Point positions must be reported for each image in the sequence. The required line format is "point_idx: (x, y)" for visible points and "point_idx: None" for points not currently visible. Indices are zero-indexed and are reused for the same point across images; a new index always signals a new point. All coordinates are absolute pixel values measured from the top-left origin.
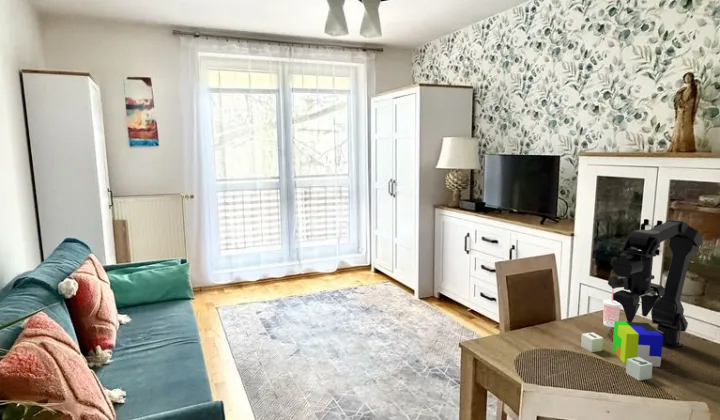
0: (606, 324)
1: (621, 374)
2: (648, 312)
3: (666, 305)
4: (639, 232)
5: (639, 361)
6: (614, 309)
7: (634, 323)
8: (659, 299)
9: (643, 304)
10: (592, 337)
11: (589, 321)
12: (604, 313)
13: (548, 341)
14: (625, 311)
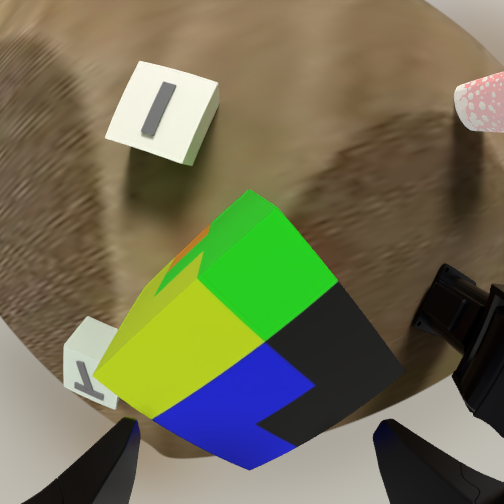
0: (457, 95)
1: (66, 310)
2: (383, 475)
3: None
4: None
5: (83, 382)
6: None
7: (344, 338)
8: None
9: (433, 493)
10: (135, 121)
11: (439, 40)
12: (487, 78)
13: (105, 3)
14: (55, 488)
